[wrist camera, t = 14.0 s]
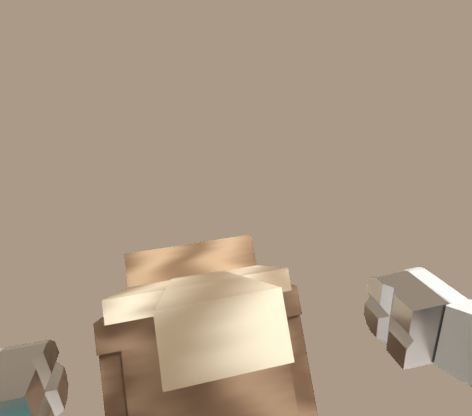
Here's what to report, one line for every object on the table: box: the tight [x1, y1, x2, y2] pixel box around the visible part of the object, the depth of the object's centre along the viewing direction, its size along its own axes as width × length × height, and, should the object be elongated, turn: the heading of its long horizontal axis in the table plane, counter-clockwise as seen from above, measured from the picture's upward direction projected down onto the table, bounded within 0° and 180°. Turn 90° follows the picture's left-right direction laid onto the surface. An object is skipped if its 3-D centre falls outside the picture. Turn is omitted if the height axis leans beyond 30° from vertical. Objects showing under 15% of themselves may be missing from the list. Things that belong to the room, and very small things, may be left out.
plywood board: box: [102, 235, 294, 392], centre depth 23 cm, size 12×28×4 cm, turn 9°
